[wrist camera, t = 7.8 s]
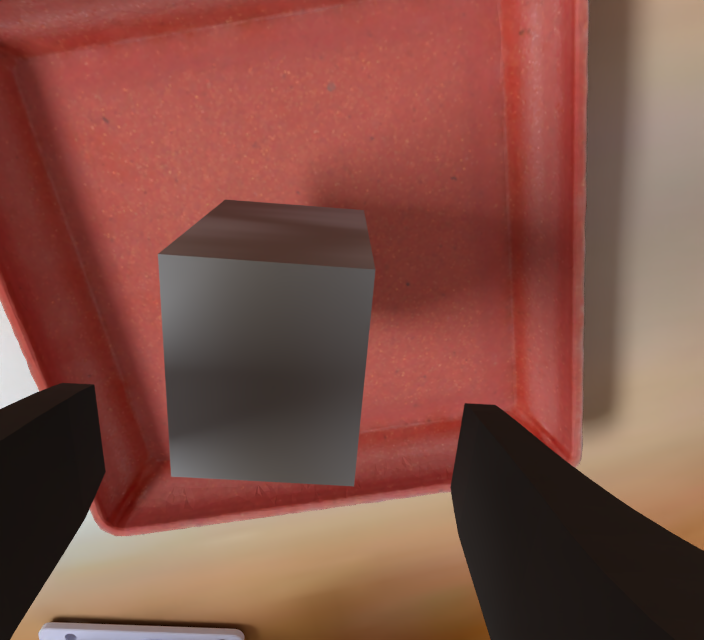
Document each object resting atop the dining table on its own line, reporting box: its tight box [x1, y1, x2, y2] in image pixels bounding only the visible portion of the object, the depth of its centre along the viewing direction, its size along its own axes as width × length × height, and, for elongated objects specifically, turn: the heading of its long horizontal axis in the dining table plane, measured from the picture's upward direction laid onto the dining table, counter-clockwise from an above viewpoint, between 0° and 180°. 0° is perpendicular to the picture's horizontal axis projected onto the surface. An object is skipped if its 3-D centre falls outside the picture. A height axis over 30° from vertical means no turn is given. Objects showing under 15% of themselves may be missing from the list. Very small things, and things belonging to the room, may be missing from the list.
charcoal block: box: [158, 200, 375, 486], centre depth 14 cm, size 4×5×6 cm
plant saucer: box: [0, 0, 589, 536], centre depth 18 cm, size 18×18×3 cm
